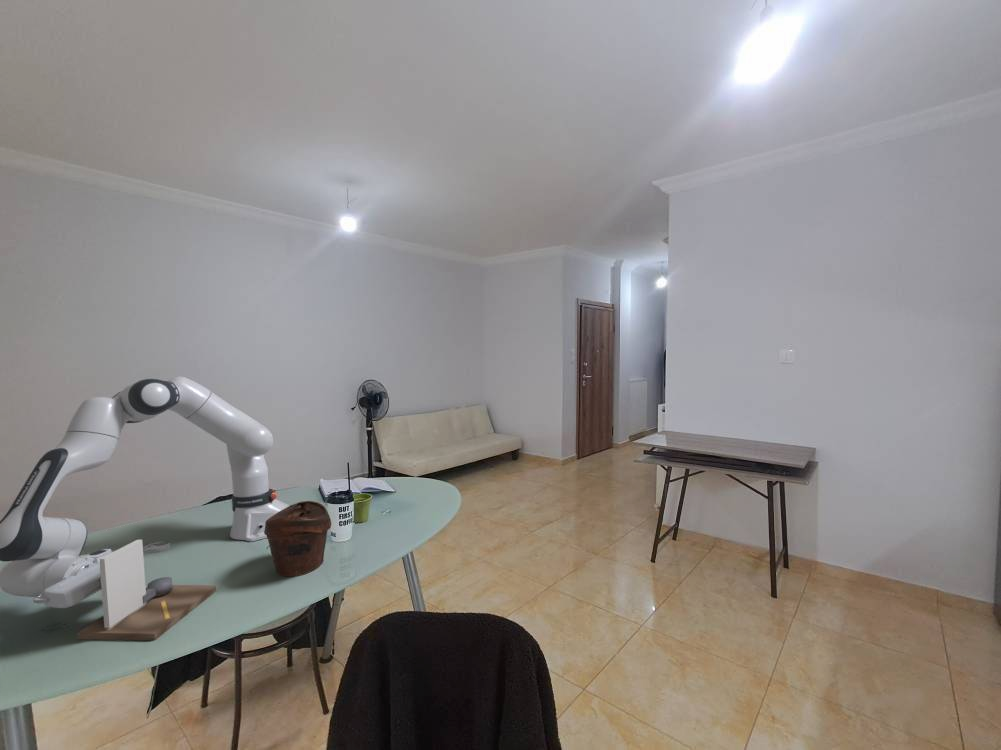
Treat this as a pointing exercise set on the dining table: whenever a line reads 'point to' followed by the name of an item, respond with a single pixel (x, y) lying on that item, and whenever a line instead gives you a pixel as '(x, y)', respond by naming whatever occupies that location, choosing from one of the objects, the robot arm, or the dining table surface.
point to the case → (298, 537)
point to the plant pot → (361, 507)
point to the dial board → (152, 615)
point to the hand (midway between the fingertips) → (129, 577)
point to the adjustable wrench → (155, 547)
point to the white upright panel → (127, 583)
